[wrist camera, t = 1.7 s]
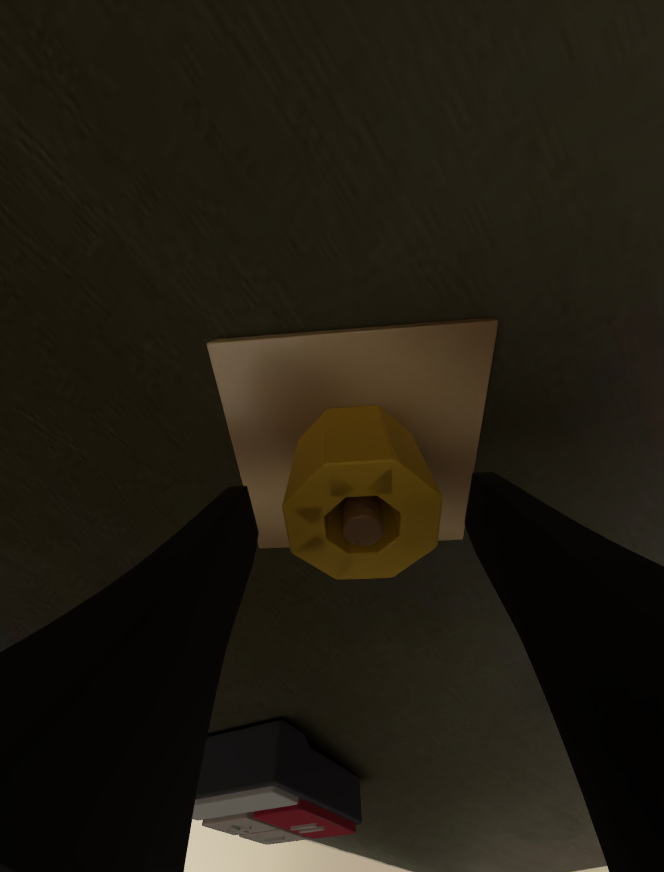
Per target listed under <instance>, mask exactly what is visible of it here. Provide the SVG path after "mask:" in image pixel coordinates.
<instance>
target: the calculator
mask: <svg viewBox="0 0 664 872" xmlns="http://www.w3.org/2000/svg"><path fill="white" fill-rule="evenodd" d="M192 819H195V820H203V823H202V826H205V827H208V828H212V829H215V830H218V831H222V832H226V833H229V834H232V835H239V836H240V837H242V838H246V839H249V840H253V841H256V842H259V843H263V844H274V843H283V842H291V841H298V840H305V839H306V837H309V838H322V837H330V836H338V835H346V834H353V833H355V832H356V828H355V825H357V824H361V822H362V817H361V800H360V784H359V778H358V777H357V776H356V775H354V774H352V773H351V772H349V771H348V770H346V769H344V768H343V767H341V766H339V765H338V764H336V763H335V762H333V761H331V760H330V759H328V758H327V757H325V756H323V755H322V754H320V753H318V752H317V751H315V750H314V749H312V748H311V747H310V746H309V744H308V741H307V739H306V736H305V734H304V733H302V732H301V731H299V730H297V729H296V728H294V727H293V726H291V725H290V724H288V723H287V722H285V721H283V720H277V721H273V722H269V723H264V724H260V725H256V726H252V727H247V728H243V729H239V730H235V731H230V732H226V733H222V734H218V735H213V736H209V737H207V739H206V745H205V750H204V755H203V760H202V766H201V771H200V776H199V782H198V787H197V793H196V799H195V805H194V811H193V816H192Z"/></svg>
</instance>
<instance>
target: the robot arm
mask: <svg viewBox="0 0 664 872" xmlns="http://www.w3.org/2000/svg"><path fill="white" fill-rule="evenodd" d="M464 523H465V526H466V529H467V531H468V534H469V537H470V540H471V542H472V545H473V547H474V550H475V552H476V554H477V556H478V558H479V560H480V562H481V564H482V566H483V568H484V570H485V571H486V573H487V575H488V577H489V579H490V581H491V583H492V585H493V587H494V588H495V590H496V592H497V594H498V596H499V598H500V600H501V601H502V603H503V605H504V607H505V609H506V611H507V613H508V615H509V616H510V618H511V620H512V622H513V624H514V626H515V628H516V630H517V632H518V634H519V636H520V638H521V640H522V642H523V645H524V647H525V649H526V652H527V654H528V656H529V659H530V661H531V663H532V666H533V668H534V670H535V673H536V675H537V678H538V680H539V682H540V685H541V687H542V690H543V692H544V695H545V697H546V700H547V702H548V705H549V707H550V710H551V712H552V715H553V717H554V720H555V722H556V725H557V727H558V730H559V732H560V735H561V738H562V740H563V743H564V746H565V748H566V751H567V754H568V756H569V759H570V762H571V764H572V767H573V770H574V772H575V775H576V778H577V780H578V783H579V786H580V788H581V791H582V794H583V797H584V800H585V803H586V805H587V808H588V811H589V814H590V817H591V820H592V823H593V825H594V828H595V831H596V834H597V837H598V840H599V843H600V845H601V848H602V851H603V854H604V857H605V860H606V863H607V866H608V869H609V872H664V567H663V566H661V565H659V564H657V563H655V562H653V561H651V560H649V559H647V558H645V557H643V556H641V555H638V554H636V553H634V552H632V551H630V550H628V549H626V548H624V547H622V546H620V545H618V544H616V543H614V542H612V541H610V540H608V539H607V538H605V537H603V536H601V535H599V534H597V533H596V532H594V531H592V530H590V529H588V528H586V527H585V526H583V525H581V524H579V523H577V522H576V521H574V520H572V519H570V518H569V517H567V516H565V515H563V514H562V513H560V512H558V511H557V510H555V509H553V508H552V507H550V506H548V505H547V504H545V503H543V502H542V501H540V500H538V499H537V498H535V497H534V496H532V495H530V494H529V493H527V492H525V491H524V490H522V489H521V488H519V487H517V486H516V485H514V484H512V483H511V482H509V481H507V480H506V479H504V478H502V477H501V476H499V475H497V474H495V473H493V472H483V473H472V478H471V485H470V491H469V497H468V503H467V509H466V515H465V521H464ZM258 535H259V531H258V527H257V523H256V519H255V515H254V511H253V507H252V503H251V499H250V495H249V492H248V488H247V486H234V487H228V488H227V489H225V490H224V491H223V492H222V493H221V494H220V495H219V496H217V497H216V498H215V499H214V500H213V501H212V502H211V503H210V504H209V505H207V506H206V507H205V508H204V509H203V510H202V511H201V512H200V513H199V514H198V515H196V516H195V517H194V518H193V519H192V520H191V521H190V522H189V523H187V524H186V525H185V526H184V527H183V528H182V529H181V530H180V531H178V532H177V533H176V534H175V535H174V536H172V537H171V538H170V539H169V540H167V541H166V542H165V543H164V544H163V545H161V546H160V547H159V548H158V549H157V550H155V551H154V552H153V553H152V554H150V555H149V556H148V557H147V558H145V559H144V560H143V561H142V562H140V563H139V564H138V565H136V566H135V567H134V568H132V569H131V570H130V571H128V572H127V573H125V574H124V575H123V576H121V577H120V578H118V579H117V580H116V581H114V582H113V583H111V584H110V585H109V586H107V587H106V588H104V589H103V590H101V591H100V592H98V593H97V594H95V595H94V596H92V597H91V598H89V599H87V600H86V601H84V602H83V603H81V604H80V605H78V606H77V607H75V608H73V609H72V610H70V611H69V612H67V613H66V614H64V615H63V616H61V617H59V618H58V619H56V620H55V621H53V622H52V623H50V624H48V625H47V626H45V627H43V628H42V629H40V630H38V631H36V632H35V633H33V634H31V635H30V636H28V637H26V638H25V639H23V640H21V641H19V642H18V643H16V644H14V645H12V646H11V647H9V648H7V649H5V650H4V651H2V652H0V872H184V865H185V858H186V852H187V846H188V840H189V834H190V828H191V822H192V816H193V811H194V805H195V799H196V793H197V787H198V782H199V776H200V771H201V766H202V760H203V755H204V750H205V745H206V739H207V734H208V729H209V724H210V720H211V715H212V710H213V705H214V700H215V696H216V691H217V686H218V682H219V678H220V673H221V669H222V664H223V660H224V656H225V651H226V648H227V644H228V641H229V637H230V634H231V630H232V627H233V624H234V621H235V618H236V615H237V612H238V609H239V606H240V603H241V600H242V596H243V593H244V590H245V587H246V584H247V581H248V578H249V575H250V571H251V568H252V565H253V561H254V556H255V551H256V546H257V540H258Z"/></svg>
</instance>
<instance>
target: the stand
mask: <svg viewBox="0 0 664 872" xmlns="http://www.w3.org/2000/svg"><path fill="white" fill-rule="evenodd" d="M497 327H498V320H495V319H490V318H479V319H467V320H454V321H441V322H429V323H416V324H403V325H390V326H378V327H365V328H352V329H340V330H327V331H314V332H301V333H289V334H276V335H263V336H251V337H238V338H225V339H215V340H212V341H210V342H208V343H207V348H208V352H209V355H210V359H211V363H212V367H213V371H214V375H215V379H216V382H217V386H218V390H219V394H220V398H221V402H222V406H223V410H224V413H225V417H226V421H227V425H228V429H229V433H230V437H231V440H232V444H233V448H234V452H235V456H236V460H237V464H238V468H239V471H240V475H241V479H242V483H243V486H247V488H248V492H249V495H250V499H251V503H252V507H253V511H254V515H255V519H256V523H257V527H258V531H259V535H258V540H257V541H258V545H259V548H260V549H262V548H284V547H290V545H289V540H288V535H287V530H286V525H285V520H284V515H283V509H282V504H283V500H284V496H285V492H286V488H287V484H288V480H289V475H290V471H291V467H292V463H293V459H294V455H295V451H296V447H297V443H298V440H299V439H300V438H301V437H302V436H303V435H304V433H305V432H306V431H307V430H308V429H309V428H310V427H311V426H312V425H313V424H314V423H315V421H316V420H317V419H318V418H319V417H320V416H321V415H322V414H323V413H324V412H325V411H326V409H330V408H343V407H358V406H373V405H376V406H380V407H381V408H382V409H383V410H385V411H386V412H387V413H388V414H389V415H390V416H392V417H393V418H394V419H395V420H396V421H397V422H399V423H400V424H401V425H402V426H403V427H404V428H406V429H407V430H408V431H409V432H410V433H411V434H412V436H413V438H414V440H415V442H416V444H417V446H418V448H419V450H420V452H421V454H422V456H423V458H424V460H425V462H426V464H427V466H428V468H429V471H430V473H431V475H432V477H433V479H434V481H435V483H436V485H437V487H438V489H439V491H440V493H441V495H442V498H443V500H442V509H441V518H440V527H439V535H438V541H441V540H462V539H463V535H464V529H465V523H464V521H465V515H466V509H467V503H468V497H469V491H470V485H471V478H472V473H474V468H475V462H476V455H477V449H478V443H479V437H480V431H481V425H482V419H483V413H484V407H485V401H486V394H487V388H488V382H489V376H490V370H491V364H492V358H493V352H494V346H495V340H496V333H497ZM342 531H343V535H344V537H345V538H346V540H347V541H349V542H350V543H352V544H354V545H358V546H367V545H371V544H373V543H375V542H377V541H378V540H379V539H380V537H381V536H382V533H383V524H382V519H381V513H380V508H379V503H378V497H377V496H363V497H345V498H344V499H343V500H342Z"/></svg>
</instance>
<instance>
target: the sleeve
mask: <svg viewBox="0 0 664 872" xmlns="http://www.w3.org/2000/svg"><path fill="white" fill-rule="evenodd" d="M363 496H377V497H378V503H379V508H380V513H381V519H382V524H383V533H382V536H381V537H380V539H379V540H378V541H377V542H375V543H373V544H371V545H367V546H358V545H354V544H352V543H350V542H349V541H347V540H346V538H345V537H344V535H343V531H342V500H343V499H344V498H345V497H363ZM442 500H443V498H442V495H441V493H440V491H439V489H438V487H437V485H436V483H435V481H434V479H433V477H432V475H431V473H430V471H429V468H428V466H427V464H426V462H425V460H424V458H423V456H422V454H421V452H420V450H419V448H418V446H417V444H416V442H415V440H414V438H413V436H412V434H411V433H410V432H409V431H408V430H407V429H406V428H404V427H403V426H402V425H401V424H400V423H399V422H397V421H396V420H395V419H394V418H393V417H392V416H390V415H389V414H388V413H387V412H386V411H385V410H383V409H382V408H381V407H380V406H376V405H373V406H358V407H343V408H330V409H326V411H325V412H324V413H323V414H322V415H321V416H320V417H319V418H318V419H317V420H316V421H315V423H314V424H313V425H312V426H311V427H310V428H309V429H308V430H307V431H306V432H305V433H304V435H303V436H302V437H301V438H300V439H299V440H298V443H297V447H296V451H295V455H294V459H293V463H292V467H291V471H290V475H289V480H288V484H287V488H286V492H285V496H284V500H283V504H282V509H283V515H284V520H285V525H286V530H287V535H288V540H289V545H290V550H291V552H292V553H293V554H294V555H296V556H297V557H299V558H301V559H302V560H304V561H306V562H308V563H309V564H311V565H313V566H314V567H316V568H318V569H319V570H321V571H323V572H324V573H326V574H328V575H329V576H331V577H333V578H335V579H338V580H341V579H367V578H392V577H394V576H396V575H397V574H399V573H400V572H402V571H403V570H404V569H406V568H407V567H409V566H410V565H412V564H413V563H414V562H416V561H417V560H419V559H420V558H422V557H423V556H424V555H426V554H427V553H429V552H430V551H432V550H433V549H434V548H436V546H437V544H438V535H439V527H440V518H441V509H442Z"/></svg>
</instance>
